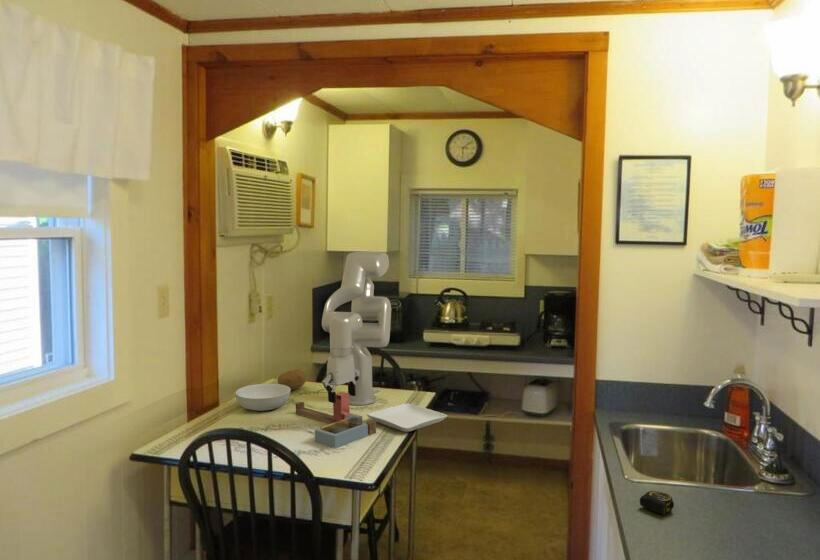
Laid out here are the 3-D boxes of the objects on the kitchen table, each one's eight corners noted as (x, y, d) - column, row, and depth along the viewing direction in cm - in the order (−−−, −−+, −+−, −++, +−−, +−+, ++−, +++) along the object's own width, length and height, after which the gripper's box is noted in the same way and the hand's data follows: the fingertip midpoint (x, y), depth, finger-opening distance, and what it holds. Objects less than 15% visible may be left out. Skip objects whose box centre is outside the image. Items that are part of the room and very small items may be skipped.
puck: (340, 434, 215) (339, 426, 215) (353, 438, 211) (353, 429, 211) (327, 439, 210) (327, 430, 210) (341, 443, 207) (341, 434, 206)
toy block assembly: (341, 421, 227) (341, 391, 226) (363, 427, 220) (363, 397, 219) (305, 433, 214) (304, 402, 213) (327, 440, 207) (327, 408, 206)
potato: (271, 391, 269) (271, 372, 269) (295, 384, 281) (295, 366, 280) (287, 395, 264) (287, 376, 263) (311, 387, 275) (311, 369, 274)
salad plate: (449, 423, 228) (449, 413, 227) (406, 437, 213) (406, 427, 212) (407, 410, 243) (407, 402, 242) (365, 423, 228) (365, 413, 228)
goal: (347, 430, 219) (347, 418, 219) (367, 436, 213) (367, 424, 213) (314, 441, 207) (314, 429, 207) (335, 448, 201) (335, 436, 201)
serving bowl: (224, 412, 240) (223, 394, 240) (257, 398, 260) (256, 381, 259) (270, 418, 233) (270, 400, 232) (301, 403, 252) (300, 386, 251)
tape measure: (637, 508, 159) (638, 494, 159) (654, 501, 163) (655, 487, 163) (662, 519, 154) (662, 504, 153) (678, 511, 158) (679, 497, 157)
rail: (301, 411, 240) (301, 401, 240) (375, 433, 216) (375, 421, 216) (295, 413, 238) (295, 403, 237) (369, 435, 214) (369, 423, 213)
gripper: (350, 345, 231) (351, 390, 233) (315, 354, 218) (316, 402, 220) (365, 348, 226) (366, 394, 229) (330, 358, 213) (331, 407, 215)
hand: (342, 398), depth 224 cm, fingers open, 9 cm apart
